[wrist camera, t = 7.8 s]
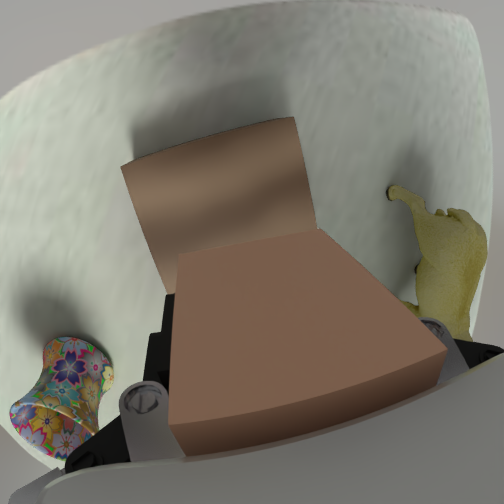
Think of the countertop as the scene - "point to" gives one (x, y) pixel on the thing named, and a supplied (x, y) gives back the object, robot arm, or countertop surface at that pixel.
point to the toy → (445, 262)
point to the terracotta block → (287, 343)
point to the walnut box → (220, 192)
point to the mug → (64, 398)
